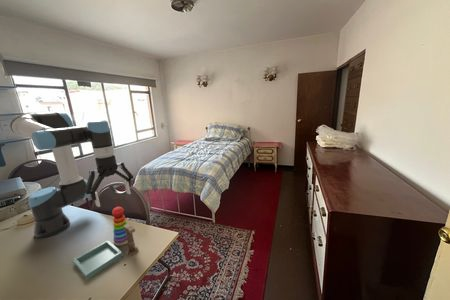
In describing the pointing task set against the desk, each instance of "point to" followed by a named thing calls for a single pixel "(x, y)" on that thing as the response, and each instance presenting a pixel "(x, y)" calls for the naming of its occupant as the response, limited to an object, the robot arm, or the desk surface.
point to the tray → (97, 259)
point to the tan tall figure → (130, 239)
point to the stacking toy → (119, 227)
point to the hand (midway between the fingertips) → (114, 199)
